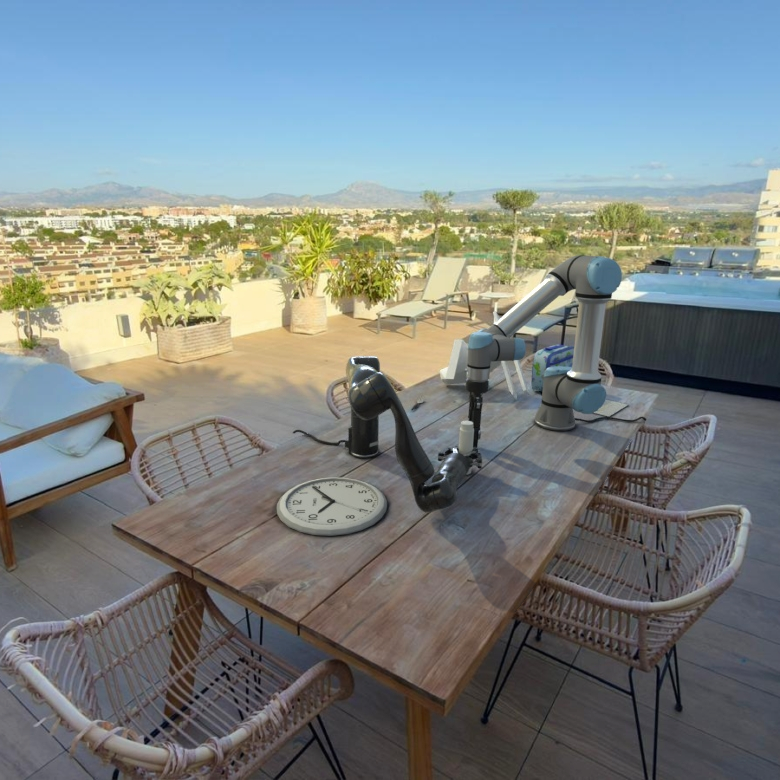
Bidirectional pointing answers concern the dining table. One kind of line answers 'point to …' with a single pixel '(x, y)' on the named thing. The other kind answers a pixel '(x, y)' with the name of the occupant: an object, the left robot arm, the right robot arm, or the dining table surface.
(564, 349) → the lunch box
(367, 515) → the wall clock
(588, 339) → the right robot arm
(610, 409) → the invitation card
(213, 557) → the dining table surface
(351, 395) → the left robot arm
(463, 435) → the off-white long cylinder
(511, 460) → the dining table surface
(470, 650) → the dining table surface
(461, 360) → the white plastic object
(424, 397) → the fork
